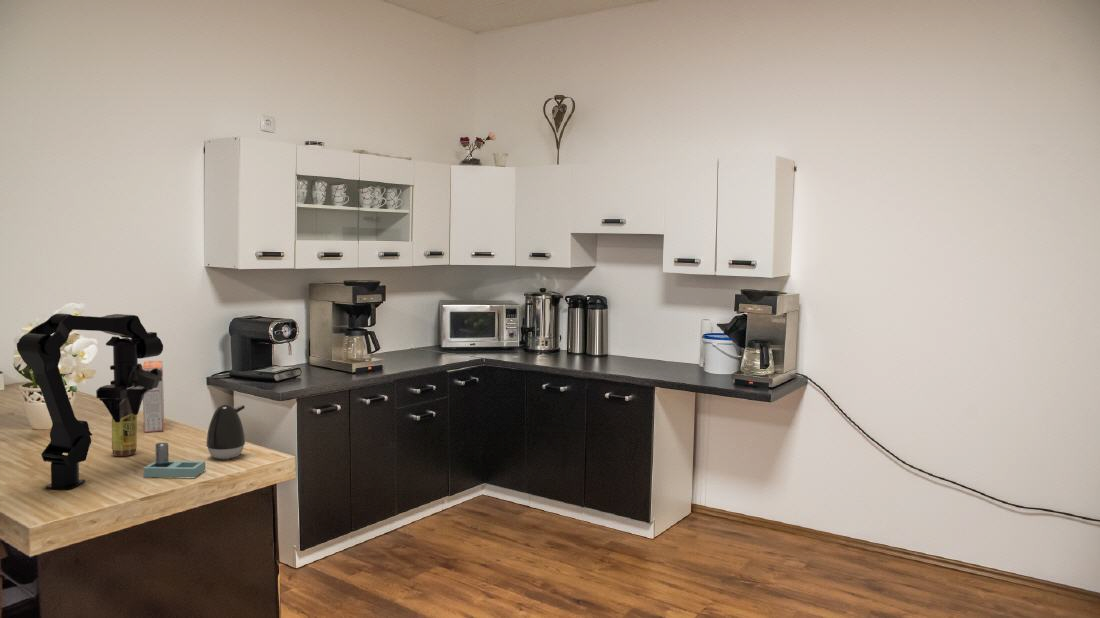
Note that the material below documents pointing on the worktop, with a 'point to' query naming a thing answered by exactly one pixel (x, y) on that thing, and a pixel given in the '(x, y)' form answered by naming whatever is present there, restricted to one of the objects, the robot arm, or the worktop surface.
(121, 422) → the sauce bottle
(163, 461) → the peg
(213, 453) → the pump dispenser
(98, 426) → the worktop surface
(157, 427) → the cracker box
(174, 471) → the pegboard
